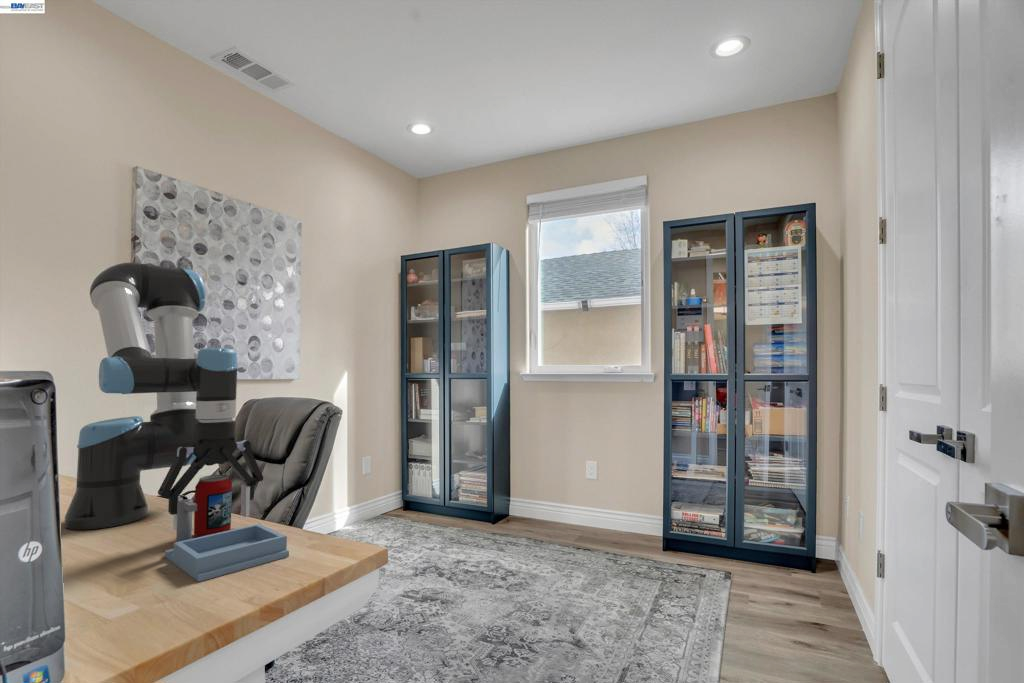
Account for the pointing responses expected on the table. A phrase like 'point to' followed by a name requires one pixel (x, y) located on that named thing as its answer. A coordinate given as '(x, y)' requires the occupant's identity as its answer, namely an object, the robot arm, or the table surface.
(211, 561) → the light blue hollow tray
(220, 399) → the robot arm
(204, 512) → the beverage can
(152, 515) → the table surface
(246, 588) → the table surface
